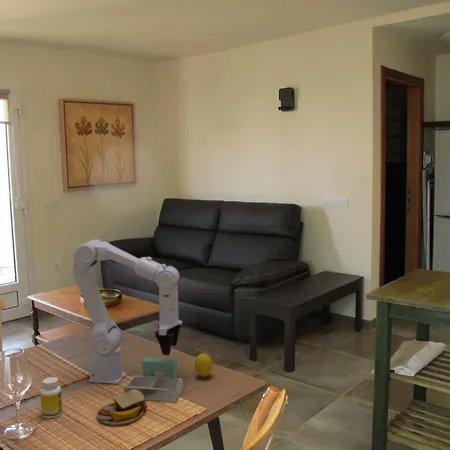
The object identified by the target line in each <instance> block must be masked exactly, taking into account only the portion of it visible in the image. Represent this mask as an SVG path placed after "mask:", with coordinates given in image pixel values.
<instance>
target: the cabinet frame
mask: <svg viewBox="0 0 450 450" xmlns="http://www.w3.org/2000/svg"><path fill="white" fill-rule="evenodd" d="M183 381H184V380H183V378H181V377H179V378H178V377H177V378H167V377H166V376H165V377H163V376H154V377H151V376H143V375H132V377H131V378H130V379H129V380H128V382H127V383H126V384H125V385H123V394H124V393H127V392H129V391H131V390H132V389H136V390H138V391H140V392H141V393H142V394H143V395H144V399H145V401H151V402H164V403H165V402H167V403H177V401H178V399H179V397H180V396H181V394H182V392H183V391H184V382H183Z"/></svg>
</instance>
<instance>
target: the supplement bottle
mask: <svg viewBox="0 0 450 450" xmlns="http://www.w3.org/2000/svg"><path fill="white" fill-rule="evenodd" d="M39 394H40V409H41V417H43V419H54V418H57V417H59V416H61V415H62V413H63V400H62V399H63V398H62V397H63V396H62V387H61V385H59V379H58V377H55V376H54V377H53V376H50V377H46V378H44V379H43V380H42V388H40V393H39Z"/></svg>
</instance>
